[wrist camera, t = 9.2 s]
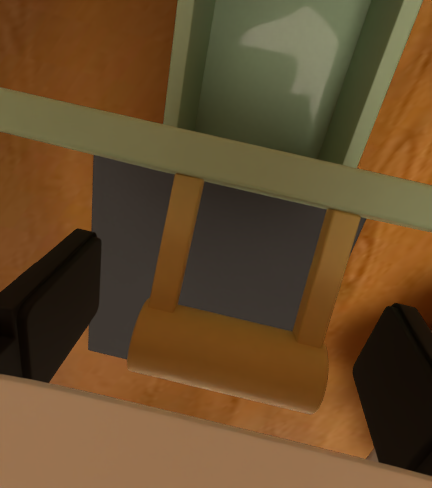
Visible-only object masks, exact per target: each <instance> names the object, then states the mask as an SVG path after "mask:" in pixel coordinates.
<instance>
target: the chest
mask: <svg viewBox="0 0 432 488" xmlns="http://www.w3.org/2000/svg"><path fill="white" fill-rule="evenodd" d="M422 2H423V0H178V2H177V11H176V19H175V28H174V36H173V45H172V53H171V62H170V70H169V79H168V87H167V95H166V104H165V112H164V121H163V124H164V125H169V126H173V127H177V128H182V129H186V130H191V131H195V132H199V133H204V134H208V135H213V136H217V137H221V138H226V139H230V140H235V141H239V142H243V143H248V144H252V145H257V146H261V147H265V148H270V149H274V150H279V151H283V152H287V153H292V154H296V155H301V156H305V157H309V158H314V159H318V160H323V161H327V162H331V163H336V164H340V165H345V166H349V167H353V168H357V166H358V163H359V161H360V158H361V156H362V153H363V151H364V148H365V146H366V143H367V140H368V138H369V135H370V133H371V130H372V128H373V125H374V123H375V120H376V118H377V115H378V113H379V110H380V108H381V105H382V103H383V100H384V98H385V95H386V93H387V90H388V88H389V85H390V83H391V80H392V77H393V75H394V72H395V70H396V67H397V65H398V62H399V60H400V57H401V55H402V52H403V50H404V47H405V45H406V42H407V40H408V37H409V35H410V32H411V30H412V27H413V25H414V22H415V19H416V17H417V14H418V12H419V9H420V7H421V4H422Z"/></svg>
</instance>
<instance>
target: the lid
mask: <svg viewBox="0 0 432 488" xmlns="http://www.w3.org/2000/svg"><path fill="white" fill-rule="evenodd" d="M0 132H4V133H8V134H12V135H16V136H20V137H24V138H28V139H32V140H36V141H40V142H44V143H48V144H52V145H56V146H60V147H64V148H68V149H73V150H77V151H81V152H85V153H89V154H93V155H97V156H101V157H105V158H109V159H113V160H117V161H121V162H125V163H129V164H133V165H137V166H141V167H145V168H149V169H153V170H157V171H162V172H166V173H170V174H175V176H174V181H173V186H172V191H171V196H170V201H169V206H168V211H167V216H166V221H165V226H164V231H163V236H162V241H161V246H160V251H159V256H158V260H157V265H156V270H155V275H154V280H153V285H152V290H151V295H150V298H148V299H147V300H146V302H145V303H144V305H143V307H142V309H141V311H140V313H139V316H138V318H137V321H136V324H135V327H134V330H133V334H132V337H131V341H130V346H129V351H128V357H127V367H128V370H130V371H133V372H137V373H141V374H145V375H149V376H154V377H158V378H162V379H166V380H170V381H174V382H178V383H183V384H187V385H191V386H195V387H199V388H203V389H207V390H212V391H216V392H220V393H224V394H228V395H232V396H236V397H240V398H245V399H249V400H253V401H257V402H261V403H265V404H269V405H274V406H278V407H282V408H286V409H290V410H294V411H298V412H303V413H307V414H313V413H315V412H316V411H317V410H318V408H319V407H320V405H321V403H322V400H323V397H324V394H325V390H326V385H327V379H328V353H327V348H326V345H325V343H324V338H325V335H326V332H327V328H328V325H329V322H330V318H331V315H332V312H333V308H334V305H335V302H336V299H337V295H338V292H339V289H340V285H341V282H342V279H343V275H344V272H345V269H346V265H347V262H348V259H349V255H350V252H351V249H352V245H353V242H354V239H355V235H356V232H357V229H358V225H359V222H360V219H361V217H363V218H367V219H372V220H377V221H381V222H386V223H390V224H395V225H400V226H404V227H409V228H413V229H418V230H423V231H427V232H432V185H428V184H424V183H419V182H415V181H411V180H406V179H402V178H397V177H393V176H389V175H384V174H380V173H375V172H371V171H367V170H362V169H358V168H353V167H349V166H345V165H340V164H336V163H331V162H327V161H323V160H318V159H314V158H309V157H305V156H301V155H296V154H292V153H287V152H283V151H279V150H274V149H270V148H265V147H261V146H257V145H252V144H248V143H243V142H239V141H235V140H230V139H226V138H221V137H217V136H213V135H208V134H204V133H199V132H195V131H191V130H186V129H182V128H177V127H173V126H169V125H164V124H160V123H155V122H151V121H147V120H142V119H138V118H133V117H129V116H125V115H120V114H116V113H112V112H107V111H103V110H98V109H94V108H90V107H85V106H81V105H76V104H72V103H68V102H63V101H59V100H54V99H50V98H46V97H41V96H37V95H32V94H28V93H24V92H19V91H15V90H10V89H6V88H2V87H0ZM204 181H205V182H209V183H214V184H218V185H222V186H227V187H231V188H235V189H240V190H244V191H249V192H253V193H257V194H262V195H266V196H270V197H275V198H279V199H283V200H288V201H292V202H296V203H301V204H305V205H309V206H314V207H318V208H322V209H327V211H326V214H325V218H324V221H323V225H322V228H321V232H320V236H319V239H318V243H317V246H316V250H315V253H314V257H313V260H312V264H311V267H310V271H309V275H308V278H307V282H306V285H305V289H304V292H303V296H302V299H301V303H300V306H299V310H298V313H297V317H296V321H295V324H294V328H293V331H288V330H284V329H279V328H275V327H271V326H267V325H262V324H258V323H254V322H250V321H246V320H241V319H237V318H233V317H229V316H225V315H220V314H216V313H212V312H208V311H203V310H199V309H195V308H191V307H187V306H182V305H178V301H179V296H180V292H181V287H182V282H183V278H184V273H185V269H186V264H187V259H188V255H189V250H190V246H191V241H192V236H193V232H194V227H195V223H196V218H197V213H198V209H199V204H200V200H201V195H202V190H203V186H204Z"/></svg>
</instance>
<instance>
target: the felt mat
mask: <svg viewBox="0 0 432 488" xmlns="http://www.w3.org/2000/svg"><path fill="white" fill-rule="evenodd" d="M174 176H175V174H170V173H166V172H162V171H157V170H153V169H149V168H145V167H141V166H137V165H133V164H129V163H125V162H121V161H117V160H113V159H109V158H105V157H101V156H97V155H94V161H93V197H92V232H95V233H96V235H97V238H100V239H101V241H102V246H101V272H100V298H99V308H98V311H97V313H96V315H95V316H94V318H93V319H92V320H91V322H90V323H89V341H88V350H90V351H94V352H99V353H103V354H107V355H111V356H115V357H119V358H123V359H127V357H128V351H129V346H130V341H131V337H132V334H133V330H134V327H135V324H136V321H137V318H138V316H139V313H140V311H141V309H142V307H143V305H144V303H145V302H146V300H147V299H148V298H150V295H151V290H152V285H153V280H154V275H155V270H156V265H157V260H158V256H159V251H160V246H161V241H162V236H163V231H164V226H165V221H166V216H167V211H168V206H169V201H170V196H171V191H172V186H173V181H174ZM326 211H327V209H322V208H318V207H314V206H309V205H305V204H301V203H296V202H292V201H288V200H283V199H279V198H275V197H270V196H266V195H262V194H257V193H253V192H249V191H244V190H240V189H235V188H231V187H227V186H222V185H218V184H214V183H209V182H205V181H204V186H203V190H202V195H201V200H200V204H199V209H198V213H197V218H196V223H195V227H194V232H193V236H192V241H191V246H190V250H189V255H188V259H187V264H186V269H185V273H184V278H183V282H182V287H181V292H180V296H179V301H178V305H182V306H187V307H191V308H195V309H199V310H203V311H208V312H212V313H216V314H220V315H225V316H229V317H233V318H237V319H241V320H246V321H250V322H254V323H258V324H262V325H267V326H271V327H275V328H279V329H284V330H288V331H293V328H294V324H295V321H296V317H297V313H298V310H299V306H300V303H301V299H302V296H303V292H304V289H305V285H306V282H307V278H308V275H309V271H310V267H311V264H312V260H313V257H314V253H315V250H316V246H317V243H318V239H319V236H320V232H321V228H322V225H323V221H324V218H325V214H326ZM365 220H366V218H363V217H361V219H360V222H359V225H358V229H357V232H356V235H355V239H354V242H353V245H352V249H351V252H352V250H353V247H354V245H355V243H356V241H357V238H358V236H359V234H360V232H361V229H362V227H363V225H364V222H365ZM351 252H350V254H351ZM349 256H350V255H349Z"/></svg>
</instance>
